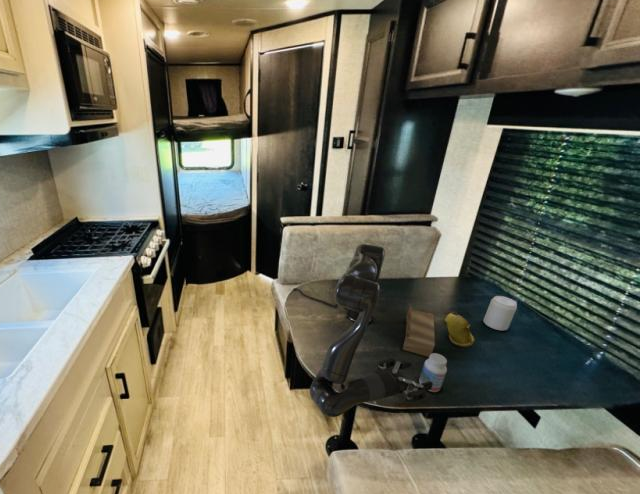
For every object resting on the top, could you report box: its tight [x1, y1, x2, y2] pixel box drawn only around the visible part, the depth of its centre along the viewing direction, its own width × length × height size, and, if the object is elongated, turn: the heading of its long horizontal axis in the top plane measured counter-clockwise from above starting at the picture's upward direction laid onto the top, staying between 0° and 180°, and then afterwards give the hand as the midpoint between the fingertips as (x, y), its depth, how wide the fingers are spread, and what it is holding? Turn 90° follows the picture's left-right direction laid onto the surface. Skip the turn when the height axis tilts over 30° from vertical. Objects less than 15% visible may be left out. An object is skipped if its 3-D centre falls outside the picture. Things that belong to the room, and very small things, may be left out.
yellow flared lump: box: [444, 311, 476, 348], centre depth 115 cm, size 12×8×15 cm
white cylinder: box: [483, 295, 518, 332], centre depth 125 cm, size 8×8×12 cm
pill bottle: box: [418, 352, 448, 393], centre depth 98 cm, size 6×6×11 cm
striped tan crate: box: [402, 304, 436, 358], centre depth 120 cm, size 20×9×8 cm, turn 152°
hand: (420, 373), depth 97 cm, fingers open, 8 cm apart
